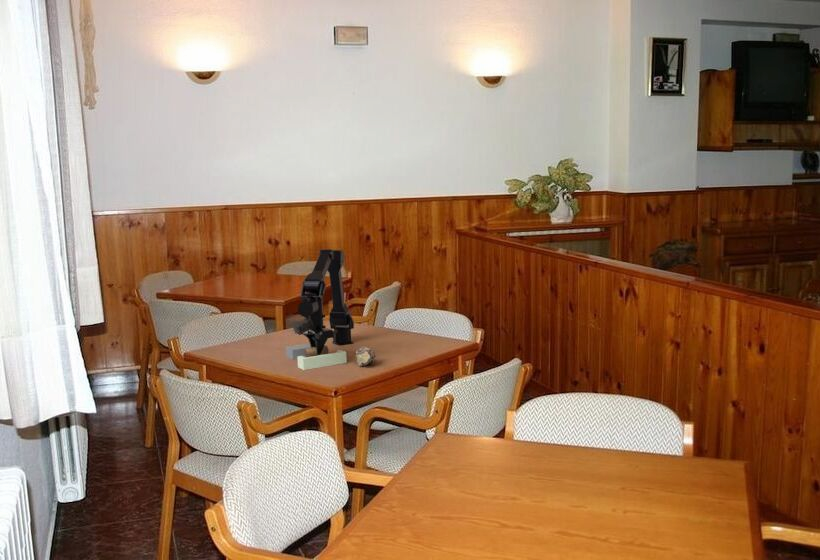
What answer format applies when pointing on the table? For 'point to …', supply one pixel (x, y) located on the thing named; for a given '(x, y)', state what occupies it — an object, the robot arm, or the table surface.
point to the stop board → (322, 360)
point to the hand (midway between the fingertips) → (316, 353)
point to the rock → (365, 356)
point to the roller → (315, 351)
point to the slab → (296, 351)
